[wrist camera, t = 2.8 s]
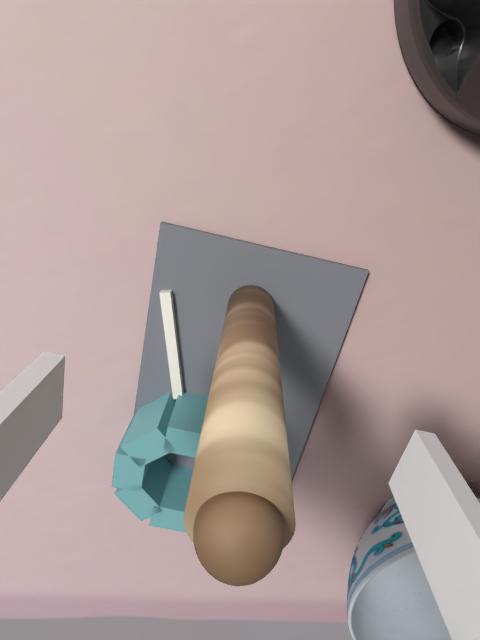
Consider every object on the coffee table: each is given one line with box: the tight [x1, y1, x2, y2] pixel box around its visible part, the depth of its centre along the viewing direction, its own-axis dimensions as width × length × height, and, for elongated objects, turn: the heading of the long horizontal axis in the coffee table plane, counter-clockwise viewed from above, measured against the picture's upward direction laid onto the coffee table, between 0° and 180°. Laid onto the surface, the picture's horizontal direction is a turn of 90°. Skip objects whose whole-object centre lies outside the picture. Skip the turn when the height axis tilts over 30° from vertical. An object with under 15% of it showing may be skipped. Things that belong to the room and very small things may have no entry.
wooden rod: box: [184, 285, 296, 586], centre depth 17 cm, size 3×3×17 cm
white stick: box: [159, 290, 184, 399], centre depth 26 cm, size 8×1×1 cm, turn 2°
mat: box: [134, 222, 369, 480], centre depth 28 cm, size 20×13×1 cm, turn 167°
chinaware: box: [347, 497, 480, 640], centre depth 29 cm, size 15×15×8 cm
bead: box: [112, 392, 208, 533], centre depth 28 cm, size 9×9×4 cm
